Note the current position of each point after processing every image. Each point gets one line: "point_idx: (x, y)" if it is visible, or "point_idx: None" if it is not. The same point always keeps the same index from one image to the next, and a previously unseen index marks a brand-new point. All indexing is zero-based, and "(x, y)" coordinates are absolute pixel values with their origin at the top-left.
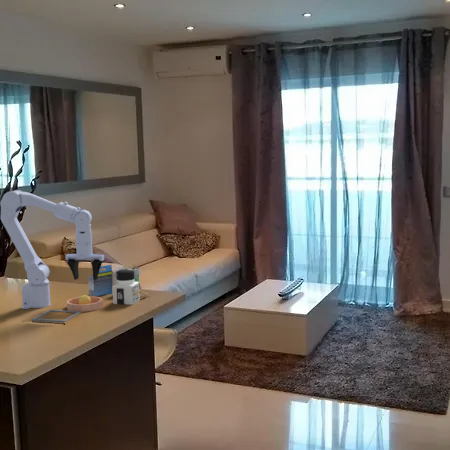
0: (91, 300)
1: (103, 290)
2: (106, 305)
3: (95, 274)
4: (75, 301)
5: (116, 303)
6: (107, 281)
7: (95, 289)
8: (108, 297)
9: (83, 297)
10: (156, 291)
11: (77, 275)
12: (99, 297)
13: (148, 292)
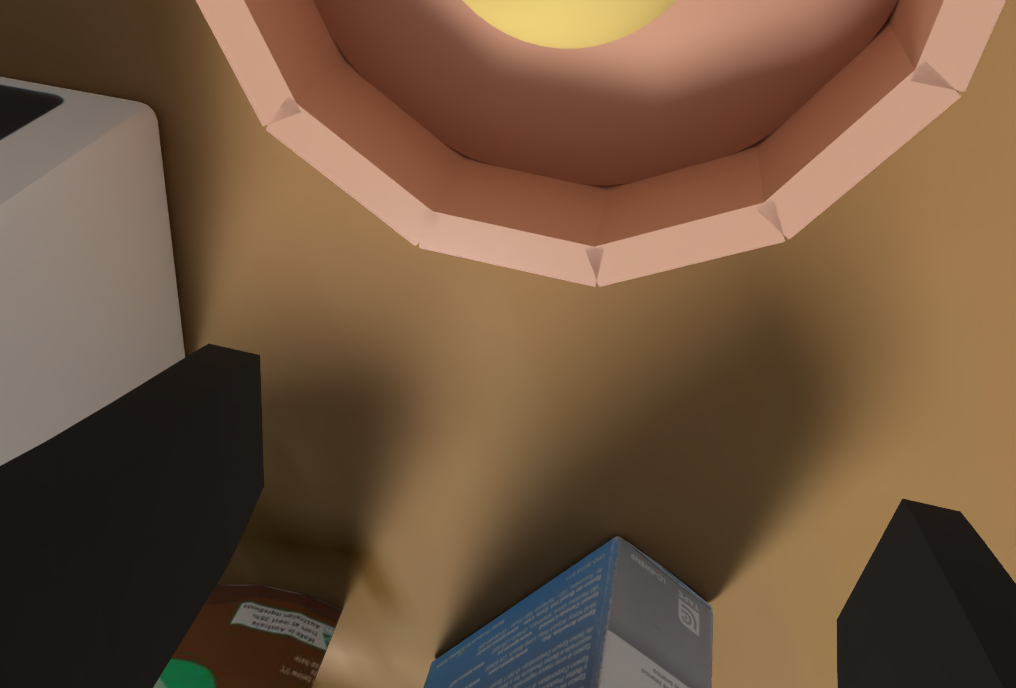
0: (528, 197)
1: (495, 668)
2: None
3: (54, 452)
4: (846, 95)
5: (76, 105)
6: None
7: (582, 649)
8: (435, 556)
9: None
10: None
11: (871, 686)
12: (332, 176)
13: None
